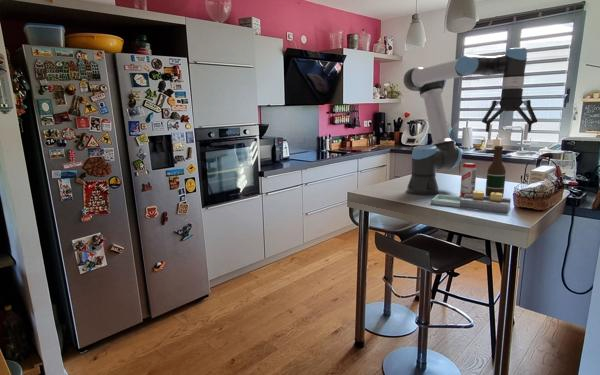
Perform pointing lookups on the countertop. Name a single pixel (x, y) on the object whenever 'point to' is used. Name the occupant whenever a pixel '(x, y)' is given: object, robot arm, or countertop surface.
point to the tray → (446, 200)
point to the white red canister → (468, 178)
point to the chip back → (478, 195)
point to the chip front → (496, 197)
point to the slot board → (485, 204)
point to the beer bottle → (496, 173)
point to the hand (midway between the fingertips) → (506, 139)
